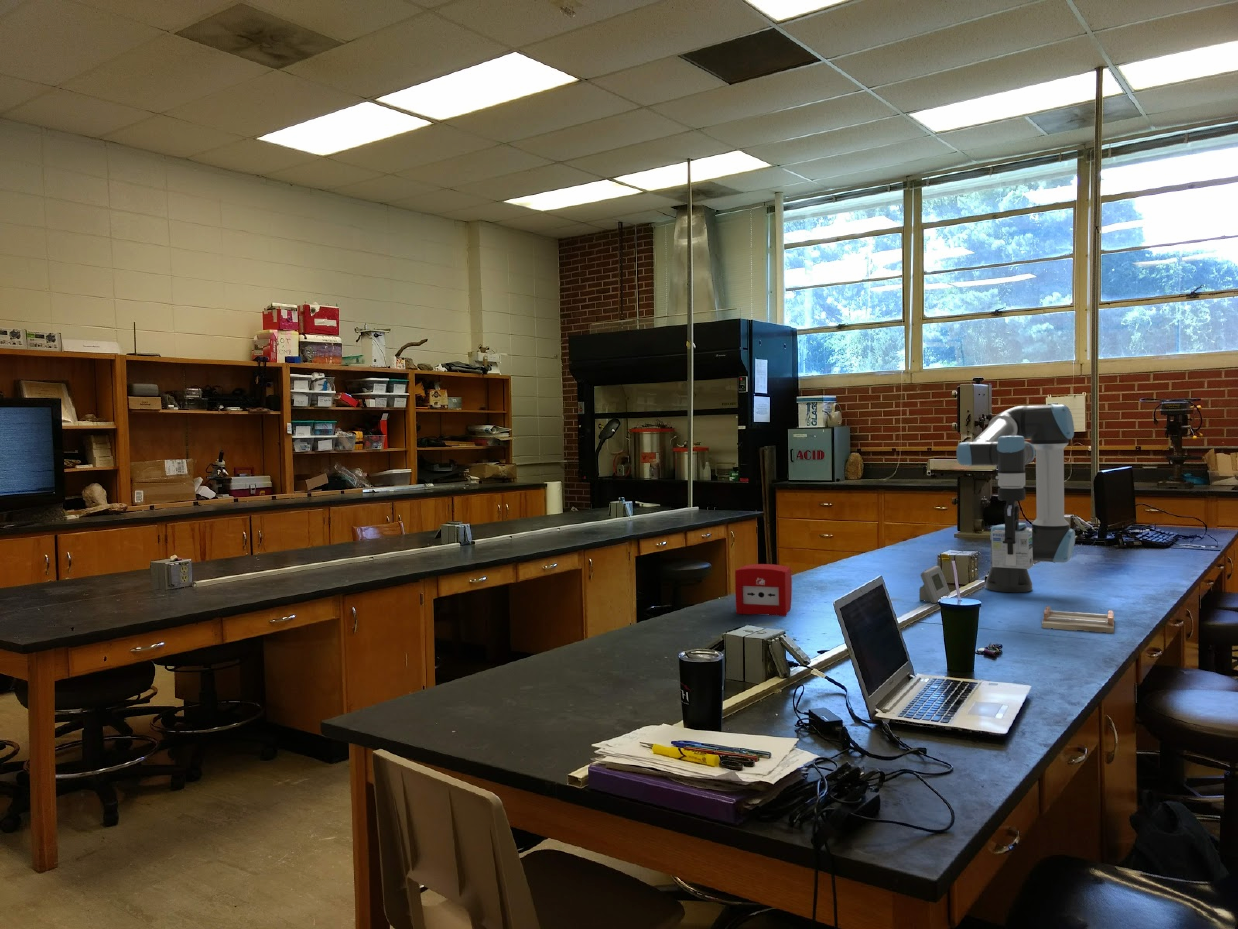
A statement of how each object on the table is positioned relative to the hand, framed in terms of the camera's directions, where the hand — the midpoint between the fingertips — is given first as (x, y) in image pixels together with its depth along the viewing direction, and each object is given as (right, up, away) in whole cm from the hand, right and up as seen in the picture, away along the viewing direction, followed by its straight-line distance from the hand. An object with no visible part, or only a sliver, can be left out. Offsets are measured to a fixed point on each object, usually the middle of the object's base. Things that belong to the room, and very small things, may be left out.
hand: (1012, 563), depth 265 cm
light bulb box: (0, -1, 0) cm, 1 cm away
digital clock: (-11, -16, +32) cm, 38 cm away
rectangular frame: (+16, -15, -8) cm, 23 cm away
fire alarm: (-71, -19, +21) cm, 77 cm away
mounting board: (+16, -17, -8) cm, 24 cm away
